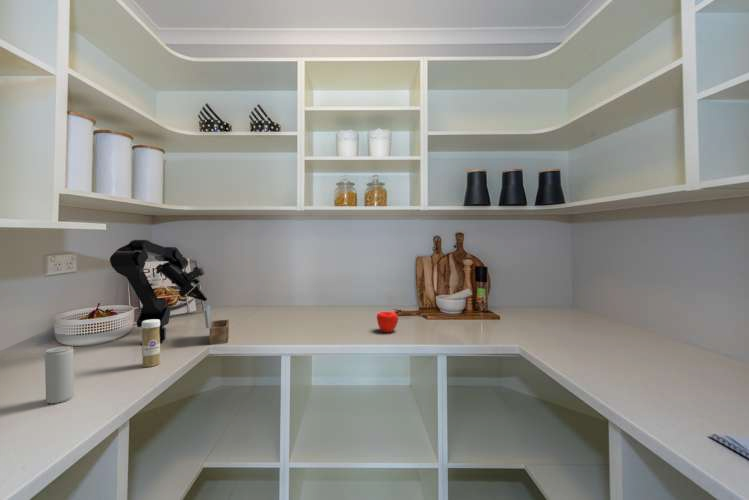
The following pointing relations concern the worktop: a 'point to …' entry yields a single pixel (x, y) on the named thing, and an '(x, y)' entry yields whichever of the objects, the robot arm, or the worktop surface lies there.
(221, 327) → the walnut box
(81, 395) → the worktop surface
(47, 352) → the beverage can
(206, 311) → the box lid
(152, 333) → the sprinkles bottle
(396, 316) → the apple
